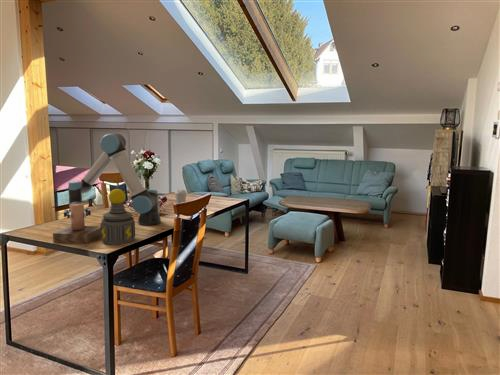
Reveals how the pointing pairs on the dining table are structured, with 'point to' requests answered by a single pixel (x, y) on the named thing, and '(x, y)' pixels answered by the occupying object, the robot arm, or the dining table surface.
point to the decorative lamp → (117, 221)
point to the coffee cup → (180, 196)
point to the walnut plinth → (77, 234)
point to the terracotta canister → (77, 216)
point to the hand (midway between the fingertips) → (77, 216)
